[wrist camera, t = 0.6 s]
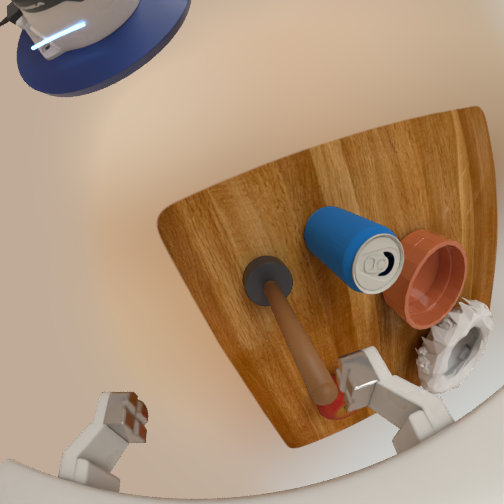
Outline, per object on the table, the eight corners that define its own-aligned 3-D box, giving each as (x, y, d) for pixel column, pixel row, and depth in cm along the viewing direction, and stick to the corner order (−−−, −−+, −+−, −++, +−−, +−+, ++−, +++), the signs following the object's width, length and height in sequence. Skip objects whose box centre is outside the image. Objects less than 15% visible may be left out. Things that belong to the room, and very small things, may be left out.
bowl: (393, 386, 47) (416, 416, 37) (409, 308, 40) (446, 338, 31) (456, 351, 49) (480, 373, 40) (476, 277, 42) (508, 296, 33)
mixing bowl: (364, 280, 36) (389, 301, 30) (420, 210, 34) (450, 219, 28) (403, 322, 41) (424, 342, 35) (449, 262, 39) (474, 276, 33)
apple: (306, 400, 43) (320, 432, 35) (313, 369, 40) (330, 403, 33) (345, 391, 44) (362, 420, 37) (354, 361, 41) (375, 391, 34)
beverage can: (344, 256, 35) (397, 297, 23) (298, 254, 33) (341, 300, 22) (352, 207, 33) (413, 232, 21) (305, 202, 31) (357, 225, 20)
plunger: (233, 281, 33) (267, 415, 14) (263, 246, 32) (336, 357, 13) (266, 304, 35) (322, 433, 16) (296, 273, 34) (381, 384, 15)
